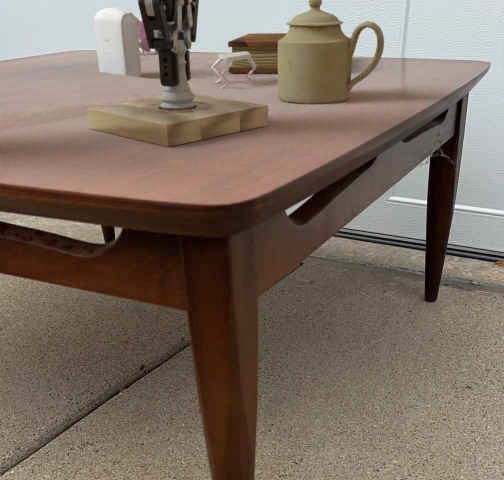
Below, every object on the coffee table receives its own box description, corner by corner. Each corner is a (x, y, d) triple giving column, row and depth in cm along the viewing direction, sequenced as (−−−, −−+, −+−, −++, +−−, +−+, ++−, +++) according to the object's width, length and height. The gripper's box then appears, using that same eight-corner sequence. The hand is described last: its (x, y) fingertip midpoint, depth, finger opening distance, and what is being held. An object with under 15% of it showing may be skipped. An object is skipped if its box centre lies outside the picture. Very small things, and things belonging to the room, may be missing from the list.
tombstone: (95, 76, 134) (88, 7, 128) (114, 73, 136) (107, 6, 131) (126, 80, 127) (119, 8, 121) (145, 78, 129) (139, 7, 124)
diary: (325, 73, 130) (326, 41, 128) (228, 73, 133) (227, 42, 131) (333, 59, 151) (334, 31, 148) (249, 60, 154) (249, 32, 151)
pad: (168, 147, 77) (166, 124, 76) (89, 128, 87) (87, 108, 86) (268, 125, 87) (268, 105, 86) (187, 110, 97) (186, 92, 96)
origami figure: (212, 79, 126) (211, 51, 124) (258, 79, 125) (258, 50, 123) (205, 89, 115) (203, 58, 113) (255, 89, 115) (254, 58, 113)
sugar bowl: (367, 90, 111) (372, -12, 104) (382, 102, 101) (389, -10, 94) (274, 93, 110) (274, -10, 104) (281, 105, 100) (281, -8, 94)
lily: (174, 57, 171) (164, 20, 171) (159, 41, 159) (148, 2, 160) (130, 73, 173) (120, 37, 173) (112, 59, 162) (101, 20, 162)
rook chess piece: (155, 111, 84) (150, 42, 81) (165, 105, 88) (160, 39, 85) (191, 112, 84) (187, 42, 80) (199, 105, 88) (195, 39, 84)
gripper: (158, -71, 85) (168, 75, 92) (107, -78, 72) (123, 91, 80) (216, -73, 83) (222, 76, 90) (174, -81, 70) (184, 93, 78)
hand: (175, 82), depth 85 cm, fingers closed on rook chess piece, 3 cm apart
